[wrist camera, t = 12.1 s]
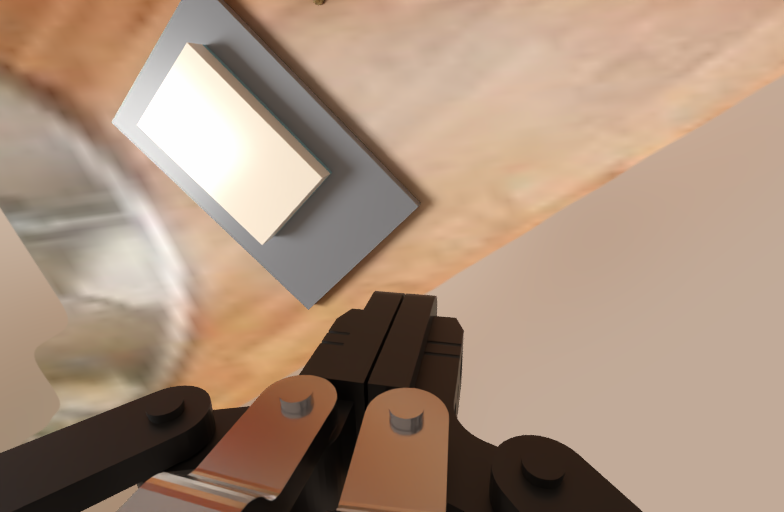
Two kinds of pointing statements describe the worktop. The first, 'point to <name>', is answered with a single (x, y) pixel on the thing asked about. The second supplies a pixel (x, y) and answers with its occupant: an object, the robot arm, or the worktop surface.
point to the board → (310, 124)
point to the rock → (318, 2)
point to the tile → (231, 143)
